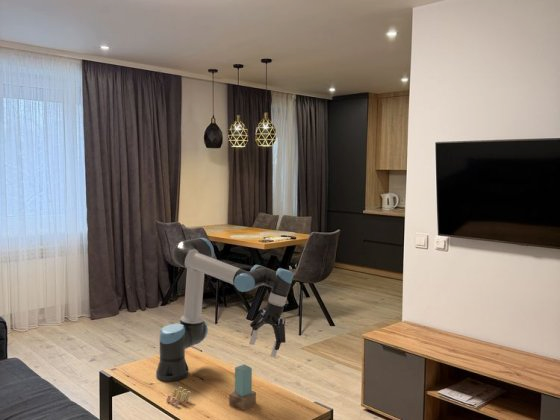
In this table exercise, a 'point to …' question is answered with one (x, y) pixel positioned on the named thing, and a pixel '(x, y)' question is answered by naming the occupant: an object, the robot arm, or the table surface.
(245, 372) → the teal block
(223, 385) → the table surface
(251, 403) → the walnut base
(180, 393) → the ammunition
